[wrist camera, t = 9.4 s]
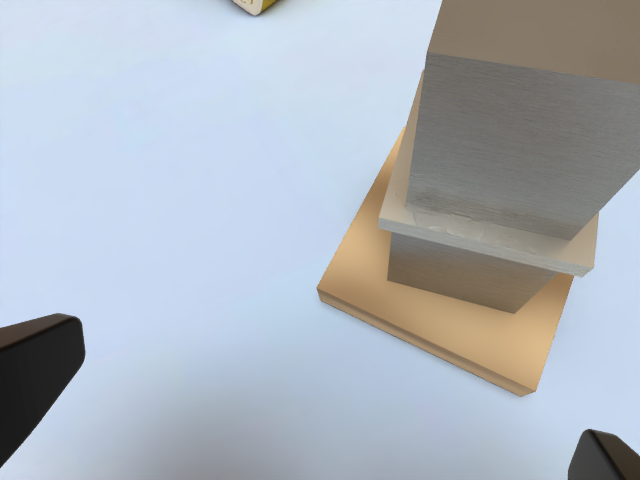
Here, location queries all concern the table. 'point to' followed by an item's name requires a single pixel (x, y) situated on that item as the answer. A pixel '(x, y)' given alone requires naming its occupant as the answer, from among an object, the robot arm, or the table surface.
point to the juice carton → (254, 5)
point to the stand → (440, 305)
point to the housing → (514, 146)
